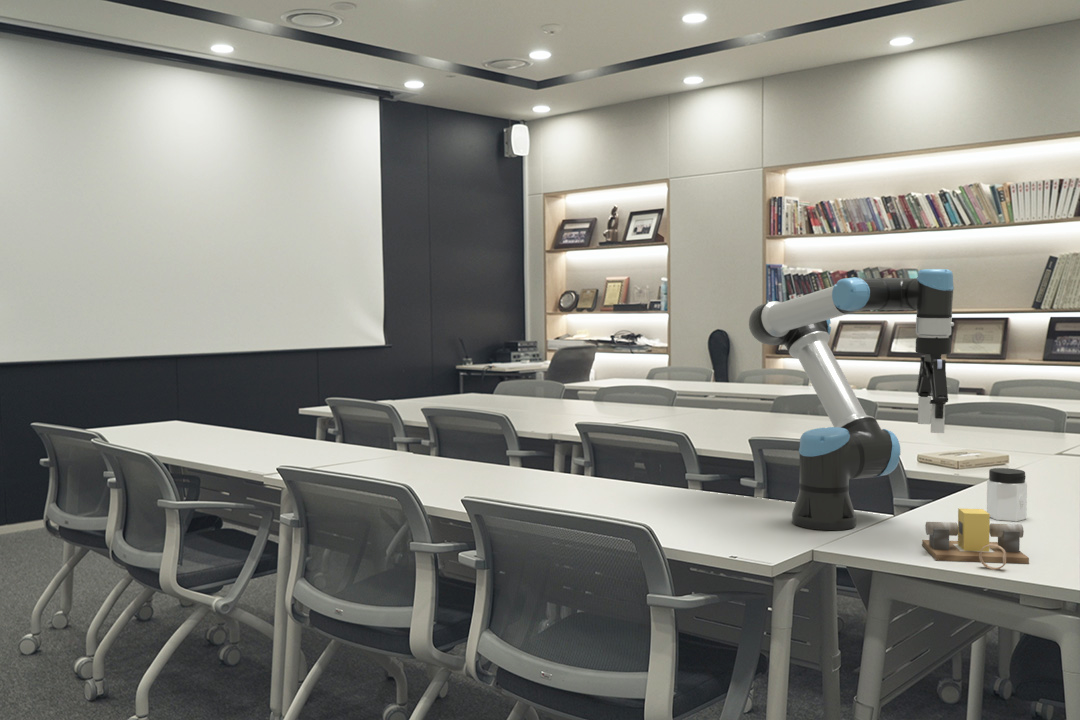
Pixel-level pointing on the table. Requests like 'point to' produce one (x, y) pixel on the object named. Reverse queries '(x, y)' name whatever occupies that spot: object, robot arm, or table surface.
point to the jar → (1007, 494)
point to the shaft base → (953, 552)
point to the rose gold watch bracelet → (986, 564)
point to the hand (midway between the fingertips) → (930, 428)
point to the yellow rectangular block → (973, 529)
